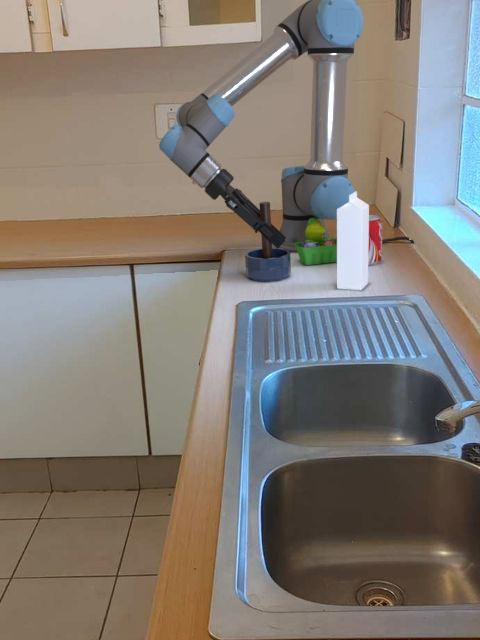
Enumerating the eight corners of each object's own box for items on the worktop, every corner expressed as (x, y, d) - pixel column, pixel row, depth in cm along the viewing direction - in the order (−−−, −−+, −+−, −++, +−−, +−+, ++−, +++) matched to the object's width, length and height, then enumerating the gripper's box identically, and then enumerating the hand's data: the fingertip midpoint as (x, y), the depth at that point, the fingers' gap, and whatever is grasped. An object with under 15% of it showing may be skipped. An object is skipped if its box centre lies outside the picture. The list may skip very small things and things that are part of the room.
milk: (336, 289, 179) (335, 195, 170) (344, 281, 184) (343, 190, 175) (361, 290, 176) (362, 195, 168) (368, 283, 181) (369, 190, 173)
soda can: (379, 266, 195) (380, 220, 190) (352, 265, 197) (352, 219, 193) (383, 259, 201) (384, 214, 196) (357, 258, 203) (357, 214, 199)
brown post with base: (276, 263, 195) (273, 200, 189) (279, 267, 190) (276, 203, 184) (256, 265, 195) (253, 202, 189) (259, 269, 190) (255, 205, 184)
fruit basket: (303, 267, 198) (302, 224, 194) (292, 259, 206) (291, 218, 202) (343, 262, 201) (343, 220, 196) (332, 255, 209) (332, 214, 204)
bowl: (281, 268, 199) (280, 245, 196) (297, 278, 189) (297, 255, 186) (240, 273, 196) (239, 251, 194) (254, 284, 186) (253, 261, 183)
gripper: (208, 184, 195) (274, 246, 199) (197, 195, 180) (268, 261, 184) (227, 162, 192) (294, 225, 196) (217, 171, 178) (290, 239, 181)
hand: (281, 242), depth 190 cm, fingers closed on brown post with base, 3 cm apart
